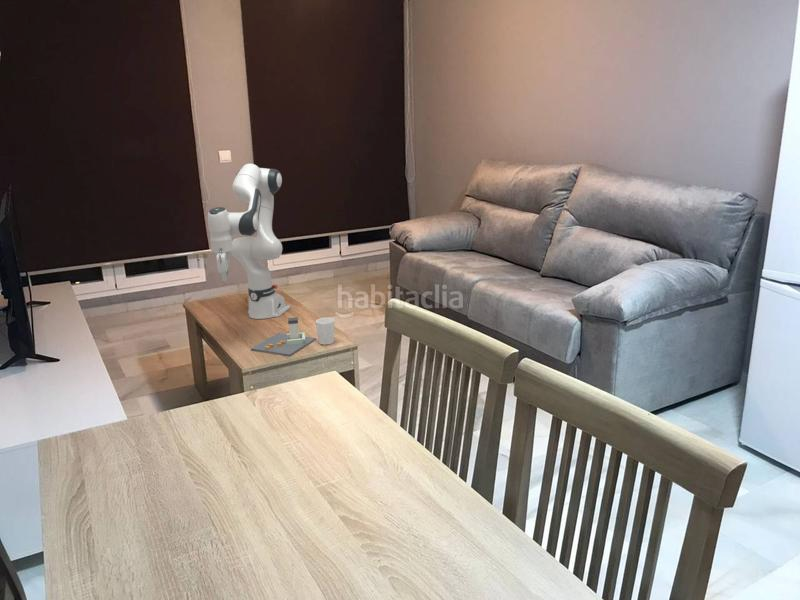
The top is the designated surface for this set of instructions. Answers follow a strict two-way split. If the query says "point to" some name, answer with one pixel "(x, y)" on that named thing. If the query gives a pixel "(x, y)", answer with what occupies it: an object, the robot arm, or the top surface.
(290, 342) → the end holder
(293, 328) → the beige container
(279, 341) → the board
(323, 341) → the white cup
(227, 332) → the top surface
